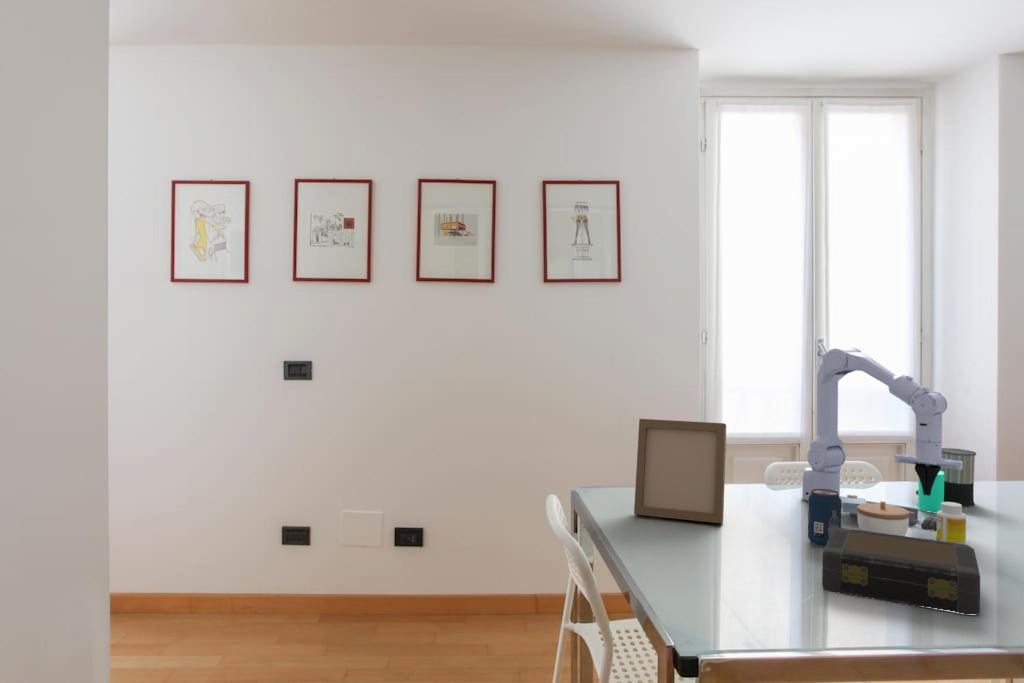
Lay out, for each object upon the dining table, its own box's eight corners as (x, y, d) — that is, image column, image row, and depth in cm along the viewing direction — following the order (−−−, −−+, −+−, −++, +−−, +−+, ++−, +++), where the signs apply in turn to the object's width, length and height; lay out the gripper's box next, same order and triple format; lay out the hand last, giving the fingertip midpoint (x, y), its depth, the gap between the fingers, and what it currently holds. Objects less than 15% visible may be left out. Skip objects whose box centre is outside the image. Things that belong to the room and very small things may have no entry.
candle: (936, 507, 195) (937, 464, 195) (948, 513, 189) (948, 468, 189) (913, 506, 196) (914, 463, 195) (924, 512, 190) (925, 467, 189)
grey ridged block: (943, 525, 172) (942, 532, 172) (948, 518, 179) (948, 524, 179) (920, 522, 175) (920, 528, 175) (926, 514, 182) (926, 521, 182)
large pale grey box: (845, 514, 188) (845, 502, 187) (851, 509, 192) (851, 498, 192) (913, 524, 178) (913, 513, 178) (917, 519, 182) (918, 508, 182)
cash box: (973, 583, 138) (973, 543, 138) (980, 620, 120) (981, 575, 120) (833, 561, 151) (833, 525, 150) (820, 591, 133) (821, 550, 133)
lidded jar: (906, 539, 166) (907, 499, 165) (910, 552, 156) (911, 509, 156) (855, 533, 170) (856, 494, 170) (856, 545, 160) (857, 504, 160)
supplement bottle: (971, 551, 157) (971, 505, 157) (955, 554, 154) (956, 508, 154) (946, 544, 162) (947, 499, 162) (930, 547, 159) (931, 502, 159)
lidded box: (839, 498, 191) (839, 488, 191) (864, 500, 189) (864, 490, 189) (842, 512, 176) (842, 502, 176) (869, 515, 174) (869, 504, 174)
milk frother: (975, 501, 203) (976, 449, 202) (975, 513, 189) (976, 458, 189) (918, 494, 210) (918, 445, 210) (914, 506, 197) (915, 452, 197)
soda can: (815, 537, 166) (816, 486, 166) (845, 544, 161) (846, 491, 161) (802, 543, 162) (803, 491, 161) (833, 550, 157) (834, 496, 156)
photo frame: (721, 527, 175) (722, 426, 174) (633, 517, 183) (634, 421, 182) (727, 512, 188) (728, 419, 188) (645, 504, 196) (646, 414, 196)
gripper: (893, 439, 179) (891, 492, 180) (960, 446, 170) (958, 502, 171) (898, 436, 185) (897, 487, 185) (964, 442, 176) (962, 496, 176)
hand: (927, 494), depth 178 cm, fingers closed
